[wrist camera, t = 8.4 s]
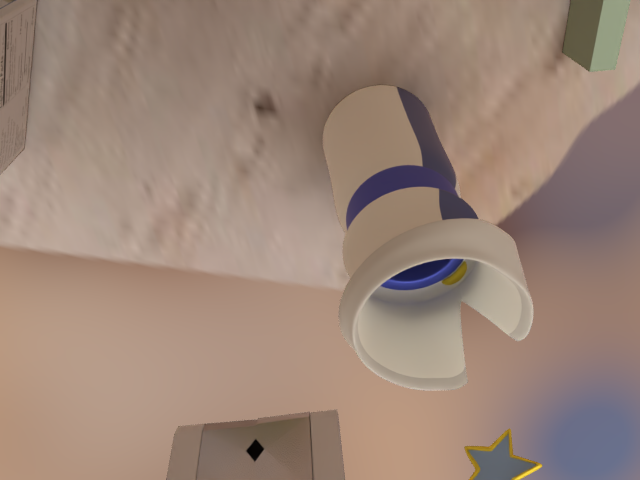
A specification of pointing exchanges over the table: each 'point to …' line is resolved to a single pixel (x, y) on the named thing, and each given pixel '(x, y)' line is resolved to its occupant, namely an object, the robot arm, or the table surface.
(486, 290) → the water bottle
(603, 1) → the green board
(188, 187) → the table surface
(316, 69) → the table surface
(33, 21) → the light bulb box
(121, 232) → the table surface
